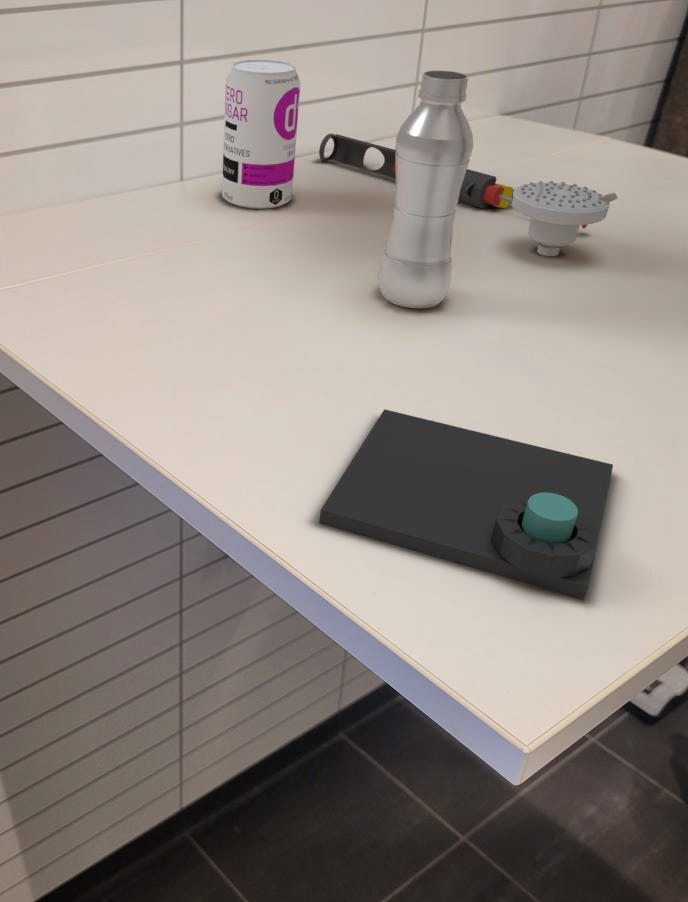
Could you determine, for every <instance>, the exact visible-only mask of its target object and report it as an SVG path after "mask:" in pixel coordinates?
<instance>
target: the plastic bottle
mask: <svg viewBox="0 0 688 902" xmlns="http://www.w3.org/2000/svg"><path fill="white" fill-rule="evenodd" d="M468 81H469V76H468V75H467V74H465V73H461V72H458V71H450V70H427V71H424V72H423V74H422V78H421V82H420V89H419V90H418V95H417V97H418V98H419V99H420V102H419V104H418V106H416V108H415V109H414V110H413V111H412V112H411V113H410V114H409V115H408V116H407V117H406V119H405V120H404V122H403V123H402V124H401V126H400V127H399V130H398V132H397V135H396V137H395V148H394V150H396V153H395V154H396V178H395V188H394V189H395V190H394V198H393V199H394V203H393V214H392V219H391V224H390V228H389V232H388V239H387V243H386V247H385V249H384V252H383V254H382V257H381V261H380V264H379V269H378V273H377V275H378V288H379V291H380V292H381V295H382V297H383V298H384V299H385V300H386V301H388V302H389V303H391V304H393V305H396V306H399V307H402V308H409V309H430V308H433V307H436V306H438V305H440V303H441V302H442V301H443V300H444V299H445V298H446V296H447V294H448V292H449V289H450V286H451V283H452V269H453V268H452V267H453V266H452V256H451V255H452V254H451V253H452V242H453V229H454V221H455V215H456V211H457V210H456V207H458V198H459V194H460V189H461V186H462V183H463V180H464V177H465V173H466V170H467V169H468V167H469V164H470V160H471V157H472V154H473V149H474V137H473V131H472V129H471V126H470V123H469V120H468V118H467V117H466V115H465V112H464V111H463V109H462V103H465V102H466V99H467V87H468Z"/></svg>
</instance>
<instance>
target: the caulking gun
mask: <svg viewBox="0 0 688 902" xmlns="http://www.w3.org/2000/svg"><path fill="white" fill-rule="evenodd" d="M330 139H332V141H333V149H332V152H331V154H330V155H329V156H328V157H327V158H326V157H325V150H326V146H327V143H328V142H329V140H330ZM370 148H373V149H376V150H378V151H379V152H380V153H381V154H382V156H383V159H384V160H383V161H384V162H383V164H382V166H381V167H379V168H378V169H376V170H371V172H373V173H376V174H378V175H379V174H380V175H383V176H386V177H390V178H393V179H396V154H395V153H396V149H395V148H390V147H386V146H382V145H380V144H379V145H378V144H374V143H372V142H367V141H364V140H360V139H356V138H353V137H349V136H345V135H341V134H337V133H328V134H326V135H325V137H323V138H322V140H321V143H320V145H319V150H318V155H319V159H320V161H321V162H323V163H326V164H327V163H328V162H327V161H329V160H332V161H335V162H338V163H343V164H345V165H349V166H352V167H355V168H358V169H362V170H366V168H365V164H364V161H365V156H366V152H367V151H368V149H370ZM363 174H366V173H363ZM373 177H374V178H375V177H376V176H375V175H374V176H373ZM383 179H384V180H386V179H385V178H383ZM390 182H392V183H393V181H391V180H390ZM515 189H516V188H514V187H513V186H510V185H507V184H502V183H497V176H494V175H491V174H487V173H484V172H481V171H477V170H472V169H468V168H467V170H466V173H465V177H464V180H463V183H462V186H461V189H460V194H459V198H458V202H459V203H462V204H465V205H468V206H472V207H475V208H479V209H482V210H484V209H488V208H489V207H490V206H493V207H496V208H501V209H502V208H503V209H507V208H508V207H509V205H510V203H512V197H513V192H514V190H515ZM588 225H589V224H587V225H581V228H582V229H583V230H585V229H586V228H587V227H588Z"/></svg>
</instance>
